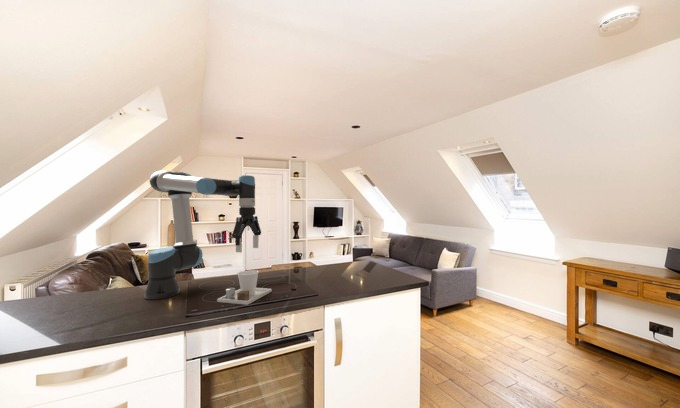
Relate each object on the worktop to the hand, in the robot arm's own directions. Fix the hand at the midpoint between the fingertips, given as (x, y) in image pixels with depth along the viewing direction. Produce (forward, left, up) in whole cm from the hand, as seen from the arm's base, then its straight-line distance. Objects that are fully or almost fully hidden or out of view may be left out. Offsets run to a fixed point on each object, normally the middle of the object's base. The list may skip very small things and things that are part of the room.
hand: (247, 250), depth 139 cm
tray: (+1, -4, -23) cm, 23 cm away
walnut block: (+4, -10, -22) cm, 24 cm away
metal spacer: (-3, -10, -22) cm, 24 cm away
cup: (+1, -2, -22) cm, 22 cm away
